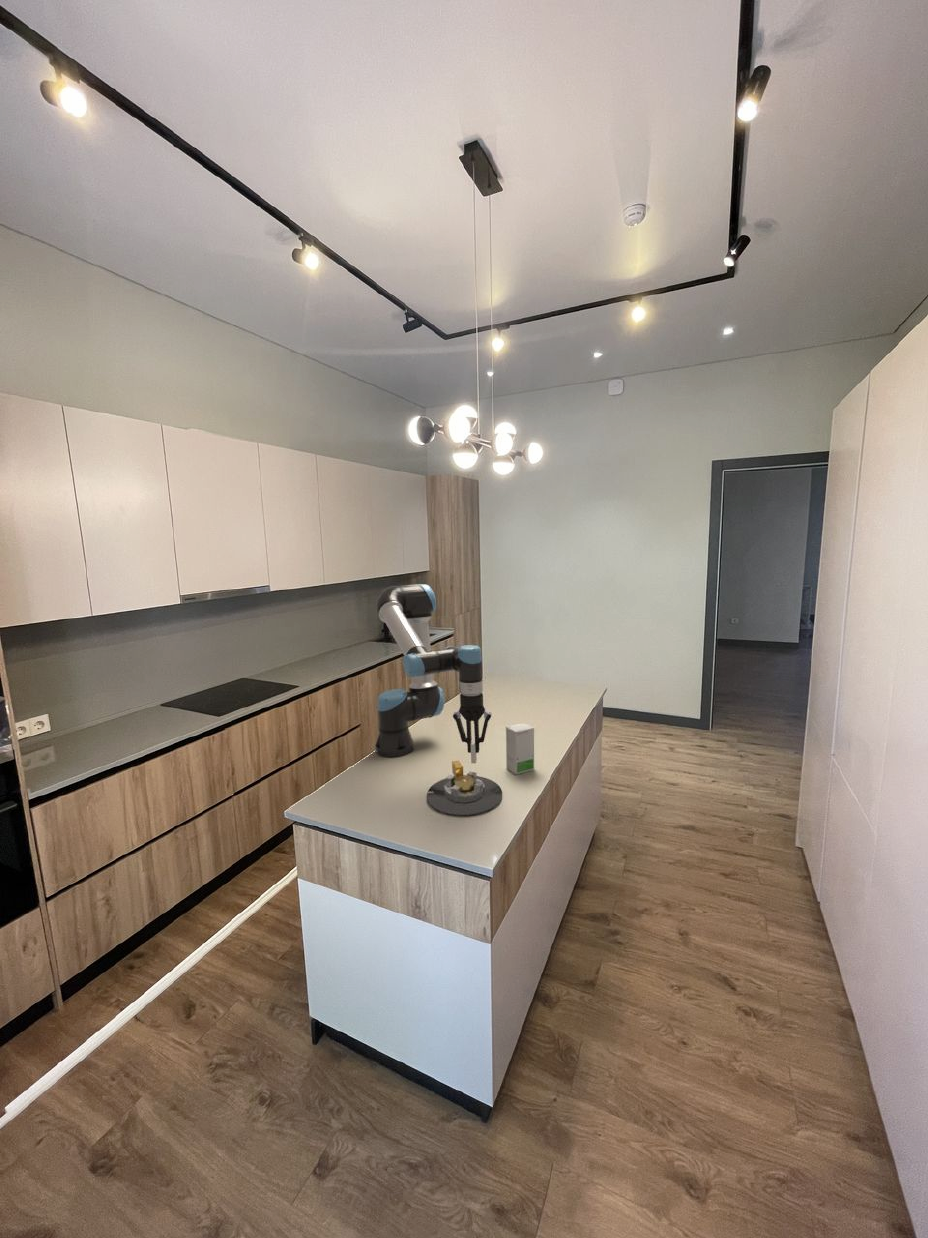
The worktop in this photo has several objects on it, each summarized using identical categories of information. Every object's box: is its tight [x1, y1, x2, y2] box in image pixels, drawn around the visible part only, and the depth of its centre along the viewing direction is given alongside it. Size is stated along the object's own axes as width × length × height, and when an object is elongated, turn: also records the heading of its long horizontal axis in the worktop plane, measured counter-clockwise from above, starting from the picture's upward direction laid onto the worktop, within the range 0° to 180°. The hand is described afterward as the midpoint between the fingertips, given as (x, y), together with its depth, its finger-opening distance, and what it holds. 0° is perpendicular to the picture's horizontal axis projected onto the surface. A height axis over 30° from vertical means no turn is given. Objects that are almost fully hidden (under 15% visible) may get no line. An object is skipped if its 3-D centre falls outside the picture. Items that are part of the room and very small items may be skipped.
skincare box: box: [505, 722, 535, 775], centre depth 170 cm, size 8×7×16 cm
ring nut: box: [444, 760, 485, 803], centre depth 155 cm, size 17×13×6 cm
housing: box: [426, 774, 503, 818], centre depth 153 cm, size 24×24×6 cm
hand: (474, 761), depth 160 cm, fingers closed
